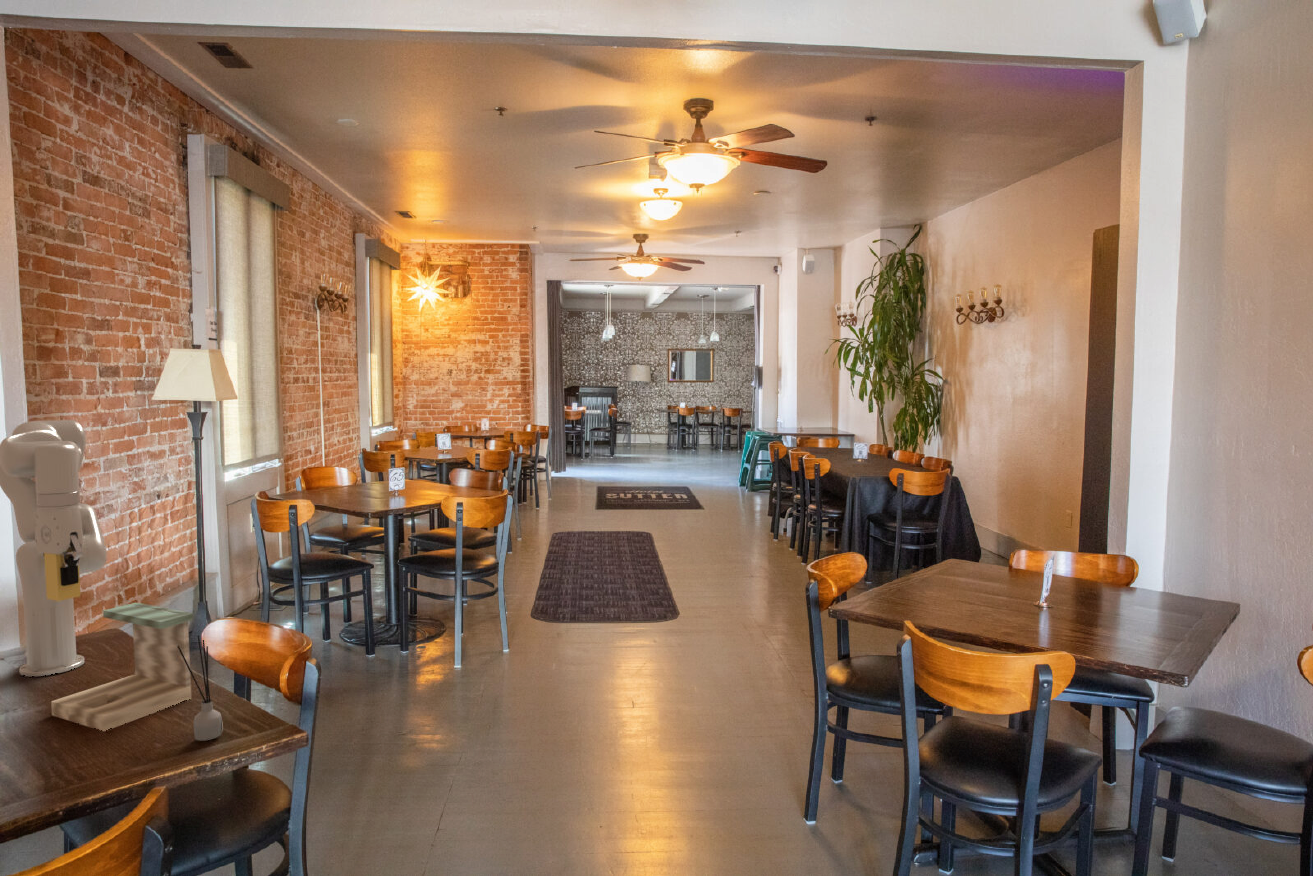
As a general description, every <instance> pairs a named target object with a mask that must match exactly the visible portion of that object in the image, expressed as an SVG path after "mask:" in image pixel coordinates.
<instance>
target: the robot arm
mask: <svg viewBox="0 0 1313 876" xmlns="http://www.w3.org/2000/svg"><path fill="white" fill-rule="evenodd" d="M86 447H87V436H86V432H85V429H84V427H83V426H82V424H81V423H80V422H78V421H76V420H72V419H71V420H70V419H62V420H61V419H56V420H53V419H52V420H32V421H27V422H26V421H25V422H22V423H21V424H19V425H16V427H15V428H14V429H13V431H12V433H11V435H10V436H7V437H5V438H3V440H2V441H1V442H0V488H1V490H2V492H3V493H4V494H5V495H6V497H7V499H9V501H10V502H11V504H12V507H13V511H14V516H15V521H16V527H17V531H18V535H19V537H20V538H21V540H22V541H23V544H22V545H21V546H19V547H18V549H17V550H16V555H15V563H16V566H17V570H18V575H19V578H20V583H21V590H22V600H23V602H22V603H23V614H24V617H23V619H24V630H25V631H24V633H25V634H24V635H25V648H26V651H24V655H25V657H26V663H24V664H22V665H21V666H20V668H19V669H18V670H19V675H21V676H23V675H25V676H24V677H32V676H34V677H43V676H44V677H46V676H51V674H53V675H56V674H55V673H58V674H62V673H66V672H68V671H71V669H72V670H75V669H77V668H79V667H81V666H82V665H83V664H84V663H85V657H84V656H83V655H81V654H77V644H76V643H77V641H76V624H75V623H76V621H75V607H74V605H75V604H74V598H70V599H66V600H61V601H55V600H50V599H47V592H46V574H45V557H44V553H49V554H56V555H60V556H61V562H62V566H63V567H62V568H60V573H61V585H62V586H66V585H71V584H76V583H78V582H79V579H78V565H79V575H81V574H87V573H94V572H96V571H100V570H102V569H104V566H105V565H106V563H107V559H108V555H107V554H108V552H107V547H106V544H105V540H104V536H103V533H102V529H101V524H100V521H99V518H98V515H97V512H96V510H95V509H94V508H93V506H91V505H90V504H87V503H81V496H80V481H79V480H80V479H79V472H80V471H81V468H82V467H83V466H82V464H83V459H84V454H85V451H86ZM67 549H72V551H71V552H66V551H67ZM65 552H66V553H65ZM71 554H72V555H71ZM66 555H71V556H69V557H68V559H67V557H66ZM74 668H75V669H74ZM45 675H46V676H45Z"/></svg>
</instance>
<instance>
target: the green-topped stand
mask: <svg viewBox="0 0 1313 876" xmlns="http://www.w3.org/2000/svg"><path fill="white" fill-rule="evenodd" d="M102 615H103V618H106V619H109V620H110V619H111V620H114V621H115V620H116V621H120V622H125V623H129V624H132V635H133V636H132V639H133V640H132V641H133V660H134V674H131V675H129V676H126V677H122V678H119V679H117V680H112V681H111V682H108V683H105V684H104V683H103V684H101V685H98V686H94V687H91V688H89V689H85V690H82V691H79V692H76V693H73V694H70V695H67V696H63V697H60V698H57V699H55V700H52V701H50V706H51V716H52V717H56V718H59V719H62V720H66V721H69V722H73V723H76V724H78V723H79V724H78V725H80V726H85V727H88V728H92V729H94V728H96V729H95V730H97V729H99V730H98V731H101V730H102V731H101V732H106V730H107V731H109V730H108V729H110V728H112V729H115V728H117V727H120V726H123V725H125V723H126V724H128V723H131V722H133V721H136V720H139V719H141V718H143V717H147V716H150V715H153V714H154V713H157V711H158V712H160V711H164V710H166V709H168V707H169V708H171V707H173V706H172V705H174V706H176V704H177V705H179V704H181V703H180V702H182V701H184V700H187V701H190V700H192V683H191V678H192V676H191V673H190V671H189V669H188V667H187V665H186V663H185V661H184V659H183V657H182V655H181V653H180V651H179V649H178V647H177V646H179V647H180V649H181V651H182V653H183V655H184V657H185V659H186V661H187V663H188V665H189V667H190V668H191V661H190V659H191V658H190V657H191V656H190V641H189V640H190V639H189V637H190V635H189V622H191V621H194V613H193V612H188V611H182V610H179V609H178V610H177V609H172V608H167V607H162V606H161V607H160V606H155V605H152V604H151V605H149V604H145V603H140V602H133V603H129V604H124V605H120V606H116V607H112V608H108V609H105V610H102ZM189 699H190V700H189ZM178 703H179V704H178ZM182 703H183V702H182ZM170 706H171V707H170ZM165 708H166V709H165ZM159 710H160V711H159ZM149 714H150V715H149ZM110 730H111V729H110Z"/></svg>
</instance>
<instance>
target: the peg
mask: <svg viewBox="0 0 1313 876" xmlns="http://www.w3.org/2000/svg"><path fill="white" fill-rule="evenodd" d="M71 551H72V549H67V551H66V552H71ZM66 552H65V553H66ZM71 555H72V554H71ZM71 555H66V557H67V559H68V557H69V556H71ZM44 557H45V574H46V592H47V599H50V600H55V601H61V600H66V599H70V598H73V599H74V598H79V597H81V595H82V594H81V582H80V581H81V578H80V575H81V574H79V565H78V579H79V582H78V583H76V584H71V585H66V586H62V585H61V573H60V568H62V567H63V566H62V562H61V556H60V555H56V554H49V553H44Z"/></svg>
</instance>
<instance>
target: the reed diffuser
mask: <svg viewBox="0 0 1313 876" xmlns="http://www.w3.org/2000/svg"><path fill="white" fill-rule="evenodd" d="M197 640H198V648H199V655H200V663H201V668H202V669H201V670H202V676H203V677H202V678H203V683H204V691H205V696H204V693H203V692H202V690H201V688H200V686H199V683H198V682H197V679H196V678H195V676H194V674H193V671H192V669H191V666H190V667H189V665H188V663H187V661H186V659H185V657H184V655H183V653H182V651H181V649H180V647H179V646H177V647H178V649H179V651H180V653H181V655H182V657H183V659H184V661H185V663H186V665H187V667H188V669H189V671H190V676H191V678H192V679H193V680H194V683H195V685H196V688H197V689H198V691H199V693H200V695H201V697H202V701H201V703H200V704H201V705H200V707H201V710H200V712H198V714H196V715H195V716H194V719H193V721H192V722H193V735H194V739H195V740H196V741H203V742H205V741H208V740H209V741H210V740H213V739H216V738H219V736H221V735H222V733H223V723H224V722H223V719H222V714H221V712H219V711H218V710H216V709H214V707H213V700H212V699H211V694H210V684H209V646H208V645H205V639H202V645H201V640H200V634H198V635H197ZM201 646H202V647H201ZM202 648H203V651H202ZM202 652H203V653H202ZM203 656H204V660H203Z"/></svg>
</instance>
